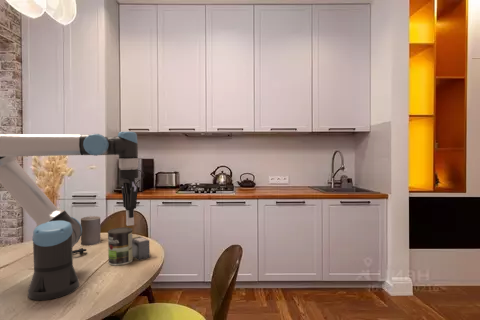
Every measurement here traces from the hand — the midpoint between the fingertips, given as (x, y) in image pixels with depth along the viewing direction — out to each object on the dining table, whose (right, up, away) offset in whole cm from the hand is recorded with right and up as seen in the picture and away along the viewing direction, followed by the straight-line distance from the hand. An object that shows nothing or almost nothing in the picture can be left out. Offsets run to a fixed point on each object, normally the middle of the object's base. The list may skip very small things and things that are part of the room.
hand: (130, 225), depth 126 cm
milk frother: (-37, -19, +18) cm, 45 cm away
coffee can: (-7, -18, +8) cm, 21 cm away
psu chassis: (-3, -18, +17) cm, 25 cm away
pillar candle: (-35, -18, +38) cm, 55 cm away
